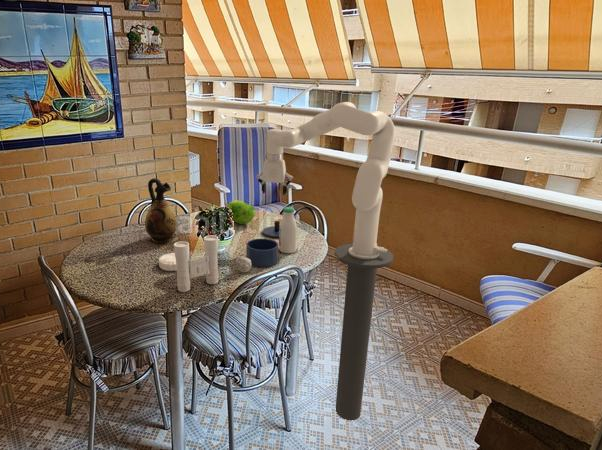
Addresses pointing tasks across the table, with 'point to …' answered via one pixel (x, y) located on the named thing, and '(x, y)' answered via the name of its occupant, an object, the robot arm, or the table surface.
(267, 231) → the pot lid
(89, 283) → the table surface
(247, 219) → the green fuzzy rounded mound
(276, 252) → the pot
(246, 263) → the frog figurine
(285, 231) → the milk bottle
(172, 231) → the ceramic jug
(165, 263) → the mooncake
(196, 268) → the binoculars
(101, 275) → the table surface
